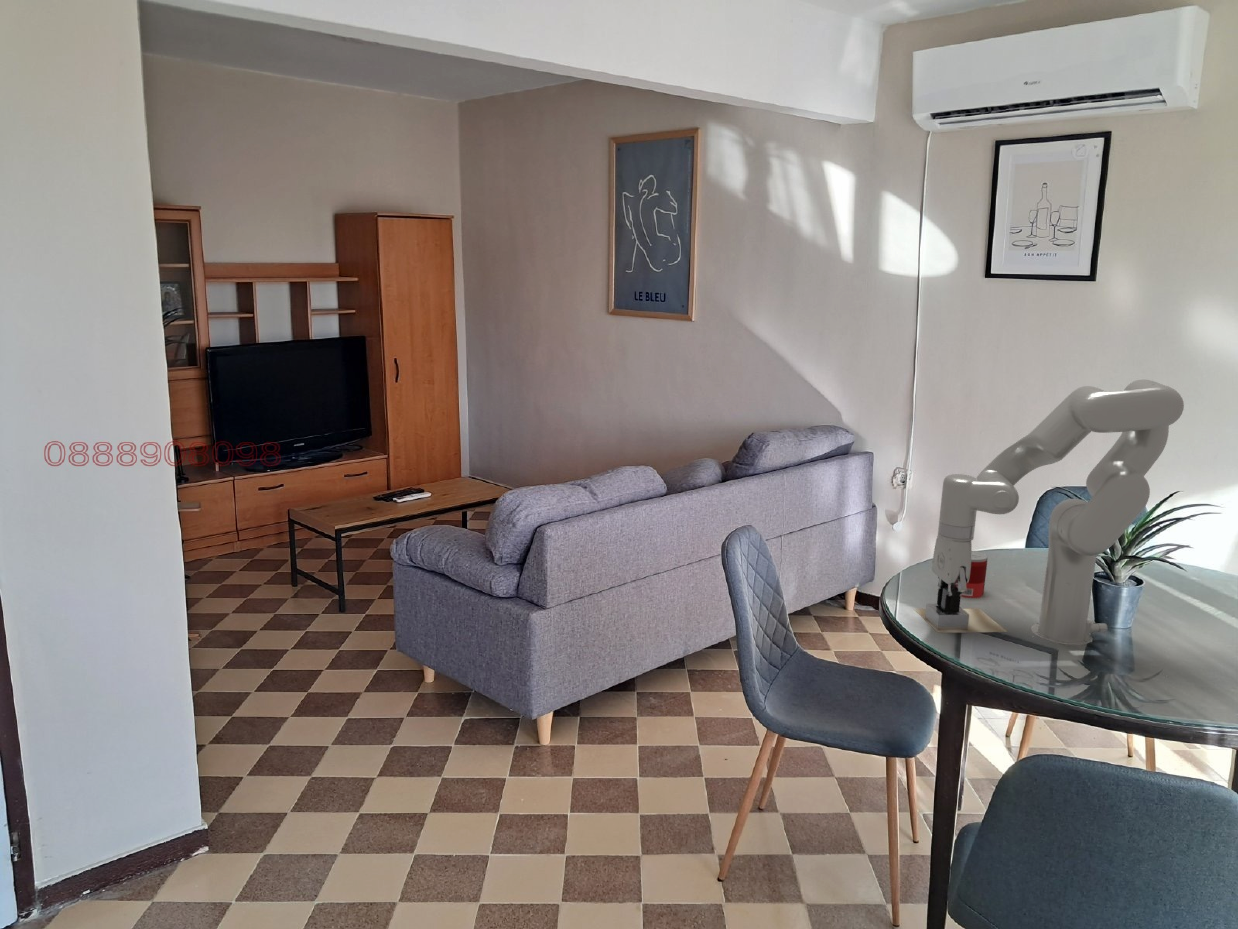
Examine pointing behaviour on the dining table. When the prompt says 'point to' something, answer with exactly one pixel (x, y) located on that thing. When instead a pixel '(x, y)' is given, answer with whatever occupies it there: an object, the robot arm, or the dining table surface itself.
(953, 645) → the dining table surface
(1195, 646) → the dining table surface
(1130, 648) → the dining table surface
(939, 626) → the collar
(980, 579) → the canned food
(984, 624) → the board
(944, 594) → the pin
